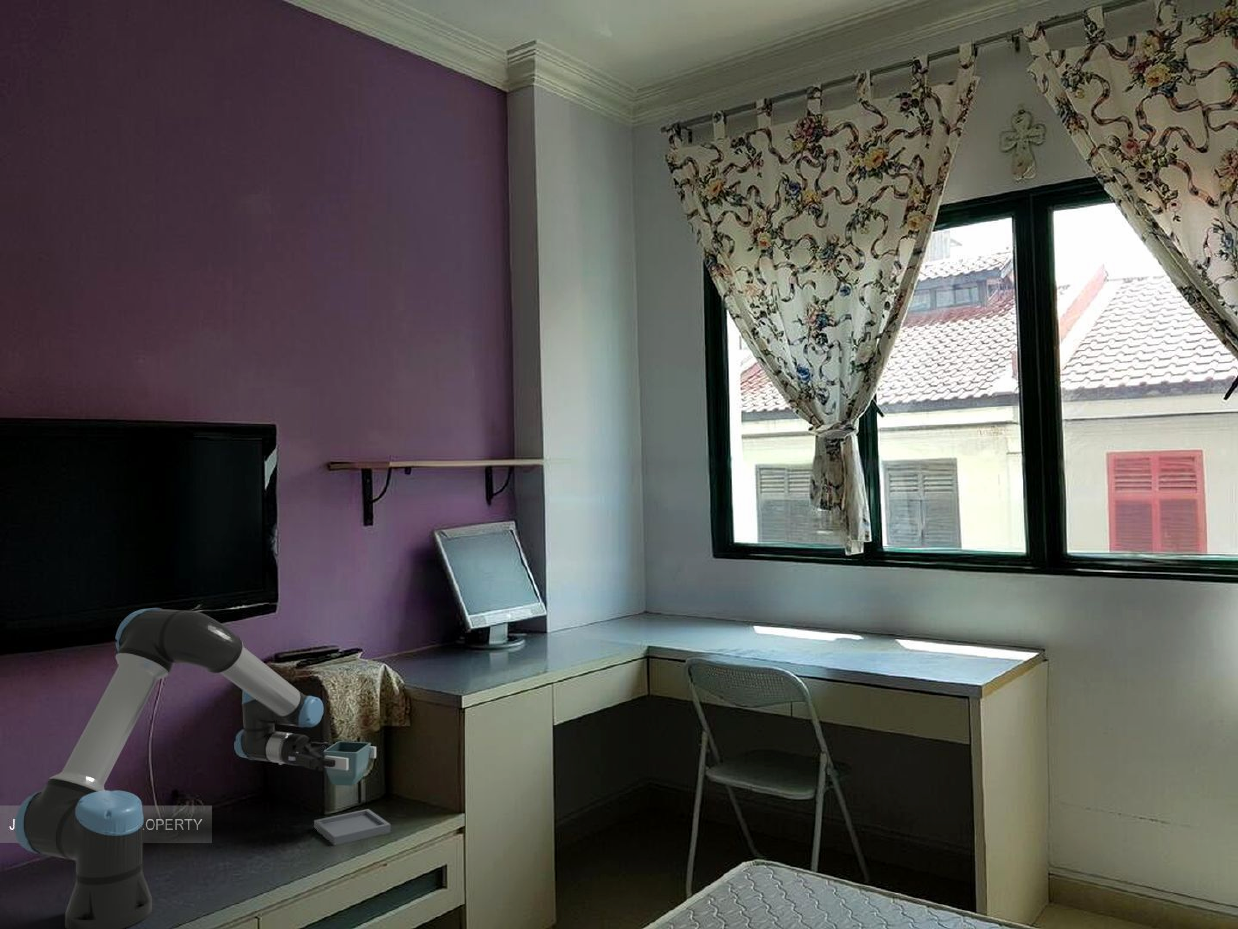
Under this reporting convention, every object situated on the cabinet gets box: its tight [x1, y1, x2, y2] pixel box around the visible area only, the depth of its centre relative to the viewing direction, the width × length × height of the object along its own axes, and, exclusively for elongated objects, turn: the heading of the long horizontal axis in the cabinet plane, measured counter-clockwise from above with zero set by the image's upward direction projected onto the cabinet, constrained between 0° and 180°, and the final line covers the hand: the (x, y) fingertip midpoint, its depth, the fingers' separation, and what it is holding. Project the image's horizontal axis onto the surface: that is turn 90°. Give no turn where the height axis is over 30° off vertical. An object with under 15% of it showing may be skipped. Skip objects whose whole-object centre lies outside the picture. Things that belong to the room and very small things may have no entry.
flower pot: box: [323, 740, 372, 787], centre depth 238 cm, size 9×9×9 cm
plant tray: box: [313, 808, 392, 846], centre depth 237 cm, size 14×14×2 cm
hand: (361, 758), depth 236 cm, fingers closed on flower pot, 10 cm apart
